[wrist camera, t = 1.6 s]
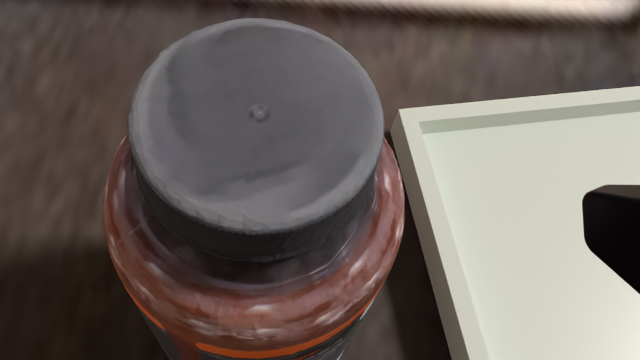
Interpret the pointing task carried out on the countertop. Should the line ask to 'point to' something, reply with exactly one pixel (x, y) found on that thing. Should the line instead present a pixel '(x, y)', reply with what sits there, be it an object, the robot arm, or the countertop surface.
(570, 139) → the tray
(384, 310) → the countertop surface
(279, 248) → the supplement bottle
